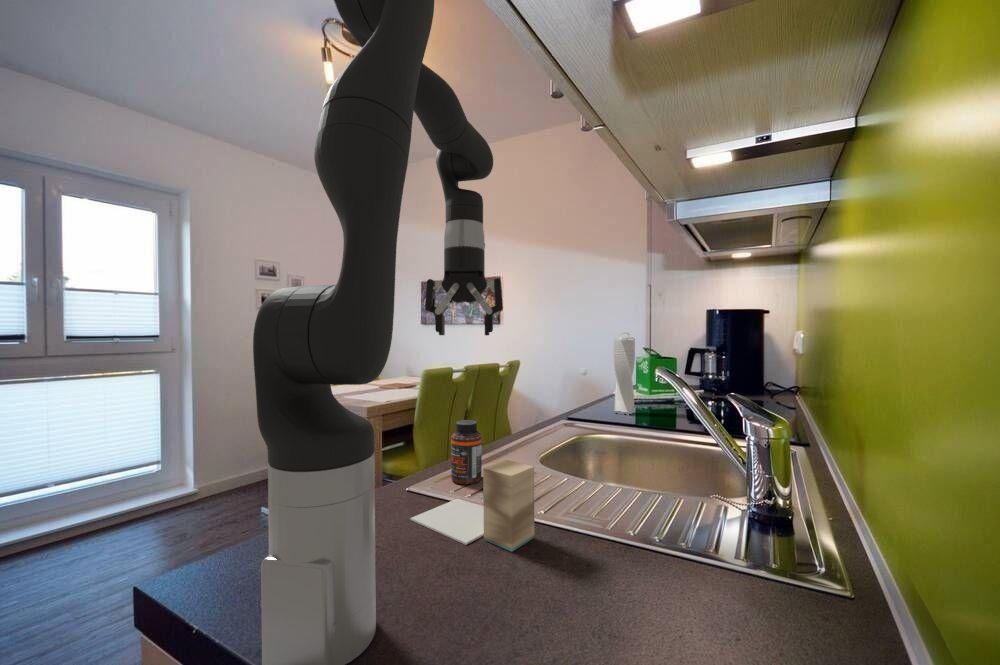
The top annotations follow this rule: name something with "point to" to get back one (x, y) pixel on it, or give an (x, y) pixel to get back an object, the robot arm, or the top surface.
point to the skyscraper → (624, 373)
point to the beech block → (508, 504)
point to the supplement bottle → (466, 453)
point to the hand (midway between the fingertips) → (464, 335)
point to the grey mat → (455, 520)
